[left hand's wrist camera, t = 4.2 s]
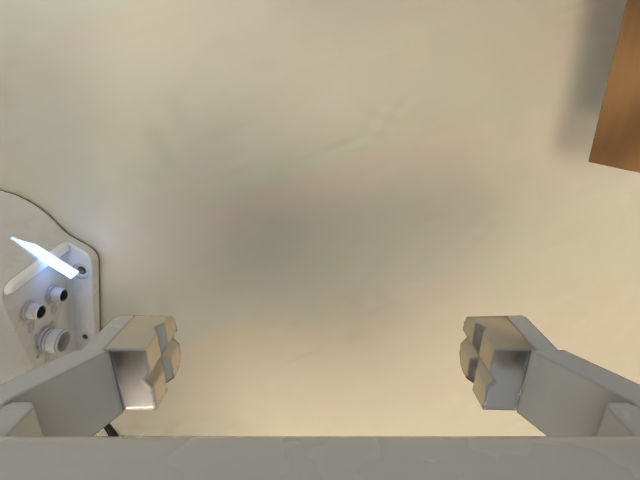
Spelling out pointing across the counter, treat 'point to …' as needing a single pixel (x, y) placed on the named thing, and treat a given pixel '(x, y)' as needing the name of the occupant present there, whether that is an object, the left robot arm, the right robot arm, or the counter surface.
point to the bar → (621, 100)
